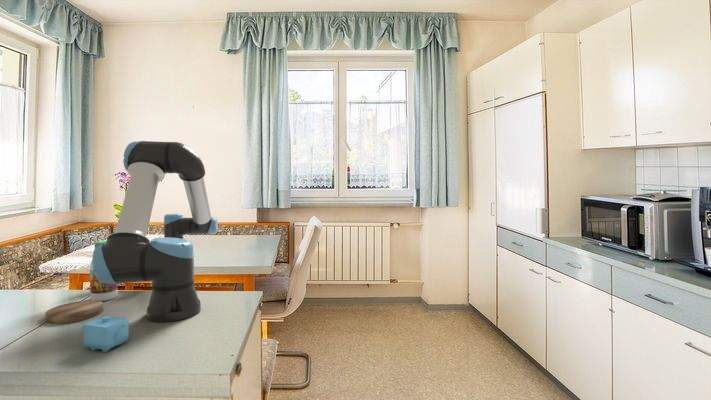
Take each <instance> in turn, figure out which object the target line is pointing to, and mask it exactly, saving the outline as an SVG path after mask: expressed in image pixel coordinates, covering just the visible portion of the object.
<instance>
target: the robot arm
mask: <svg viewBox="0 0 711 400" xmlns="http://www.w3.org/2000/svg"><path fill="white" fill-rule="evenodd" d="M122 162H123V167H124V169H125V171H126V172H127V174H128V175H129V180H128V181H129V182H128V185H127V189H126V193H125V195H124V199H123V202H122V205H121V210H120V212H119V217H118V219H117V223H116V227H115V231H114V232H113V233H110V234H109V235H108V236H107V237H106V240H105V241H106V244H105V245H104V244H101V245H98V246H97V247H96V248H95V247H94V249H93V254H92V259H91V261H92V264H93V269H94V273H95V276H96V278H97V279H98V280H99V281H100V282H102V283H115V284H117V285H119V284H128V283H129V284H130V283H143V282H144V283H146V282H151V283H152V288H151V289H152V292H151V295H150V298H149V302H148V306H147V307H146V310H145V312H146V319H147V320H149V321H151V322H155V323H156V322H159V323H167V322H176V321H180V320H185V319H189V318H190V317H191V318H192V317H193V316H196V315H197V314H198V313H200V312H201V309H202V307H201V305H202V303H201V300H200V299H199V295H198V293H197V290H196V288H195V253H194V245H193V243H192V241H190V240H188V239H185V238H184V236H185V235H186V236H187V235H210V234H211V235H213V234H217V232H218V229H219V228H218V227H219V224H218V223H219V222H218V219H217V217H213V216H212V214H211V208H210V204H209V199H208V194H207V193H208V192H207V189H206V184H205V175H206V169H205V165H204V163H203V161H202V159H201V157H200V156H199V155H198V153H196V151H194V150H193V148H191V147H190V146H188V145H186V144H185V143H182V142H178V141H153V140H151V141H146V140H140V141H132V142H129V143H128V144H127V145H126V147H125V150H124V153H123V161H122ZM166 174H177V175H178V177H179V179H180V180H181V181H182V182H183V186H184V189H185V193H186V197H187V201H188V205H189V210H190V212H191V213H190V215H191V217H184V215H183V213H167V214H165V215H164V217H163V237H153V238H152V239H151V240H150V239H149V238H148V237H147V235H148V230H149V225H150V221H151V216H152V211H153V207H154V202H155V199H156V193H157V190H158V186H159V183H160V182H162V181H163V180H164V178H165V175H166Z"/></svg>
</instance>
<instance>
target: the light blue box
mask: <svg viewBox="0 0 711 400" xmlns="http://www.w3.org/2000/svg"><path fill="white" fill-rule="evenodd" d="M129 324H130V323H129V318H127V317H121V316H112V315H104V316H101V317H99V318H96V319H94V320H91V321H89V322H87V323H84V324H82V338H83V341H82V343H83V348H90V351H95V350H101V352H102V353H107V352H109V351H110V350H111V349H112V348H115V347H116V346H121V345H123V343H125V342H126V341H128V340H129V334H130V333H129V332H130V331H129Z"/></svg>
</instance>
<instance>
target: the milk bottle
mask: <svg viewBox="0 0 711 400" xmlns="http://www.w3.org/2000/svg"><path fill="white" fill-rule="evenodd" d="M106 241H107V240H102V241H101V240H99V241H95V242H94V244H93V245H94V249H95V248H96V247H97V246H98V245H101V244H104V245H105V244H106ZM89 288H90V290H89V291H90V299H91V300H94V301H101V302H103V301H110V300H113V299H115V298H117V297H118V295H119V294H118V290H119V289H118V284H115V283H102V282H100V281H99V280H98V279H97V278H96V276H95V273H94V269H93V264H92V260H91V262H90V266H89Z"/></svg>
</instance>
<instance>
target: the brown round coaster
mask: <svg viewBox="0 0 711 400" xmlns="http://www.w3.org/2000/svg"><path fill="white" fill-rule="evenodd" d="M102 312H104V302H103V301H94V300H80V301H74V302H68V303H64V304H61V305H57V306H54V307H52V308H50V309H48V310H46V312H45V313H44V314H45V315H44V319H45V322H46V323H48V324H57V325H58V324H68V323H75V322H80V321H84V320H89V319H91V318H93V317H96V316H99V315H100V314H102Z"/></svg>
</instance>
